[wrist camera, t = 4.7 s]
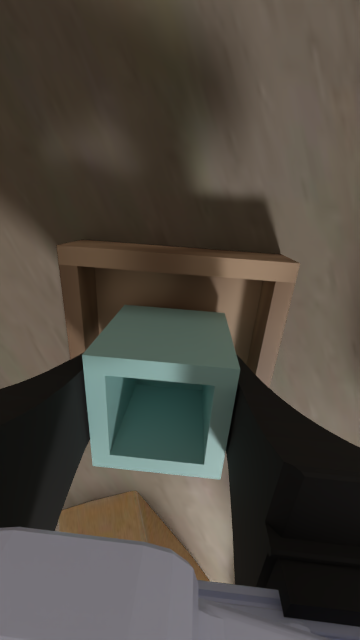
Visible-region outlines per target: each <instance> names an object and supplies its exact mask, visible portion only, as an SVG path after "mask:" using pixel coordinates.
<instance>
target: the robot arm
mask: <svg viewBox="0 0 360 640" xmlns="http://www.w3.org/2000/svg"><path fill="white" fill-rule="evenodd" d="M83 353H84V352H83ZM83 353H82V354H83ZM82 354H80V355H78V356H76V357H74V358H73V359H71V360H69V361H67V362H65V363H63V364H61V365H59V366H57V367H55V368H53V369H51V370H49V371H47V372H45V373H42V374H40V375H38V376H36V377H33V378H31V379H28V380H26V381H23V382H20V383H18V384H15V385H12V386H8V387H5V388H2V389H0V640H360V448H359V447H357V446H355V445H353V444H351V443H349V442H347V441H346V440H344V439H342V438H340V437H338V436H337V435H335V434H333V433H331V432H329V431H328V430H326V429H324V428H323V427H321V426H319V425H318V424H316V423H315V422H313V421H312V420H310V419H308V418H307V417H305V416H304V415H302V414H301V413H300V412H298V411H297V410H295V409H294V408H293V407H291V406H290V405H289V404H287V403H286V402H285V401H284V400H282V399H281V398H280V397H279V396H277V395H276V394H275V393H274V392H273V391H272V390H271V389H270V388H268V387H267V386H266V385H265V384H264V383H263V382H262V381H261V380H260V379H259V378H258V377H257V376H256V375H255V374H254V373H253V372H252V370H251V369H250V368H249V367H248V366H247V365H246V364H245V363H244V362H243V360H242V359H241V358H240V357H239V356H238V355H237V359H238V363H239V366H240V374H239V380H238V385H237V391H236V396H235V402H234V407H233V413H232V418H231V424H230V429H229V435H228V440H227V446H226V454H227V461H228V469H229V482H230V496H231V512H232V529H233V548H234V571H235V585H234V584H226V583H218V582H210V581H202V580H197V578H196V575H195V572H194V569H193V567H192V566H191V565H190V563H189V562H188V561H186V560H185V559H184V558H182V557H181V556H179V555H178V554H177V553H175V552H174V551H173V550H171V549H169V548H165V547H162V546H158V545H154V544H151V543H147V542H142V541H134V540H125V539H117V538H108V537H100V536H92V535H83V534H75V533H66V532H58V531H55V528H56V525H57V522H58V520H59V517H60V514H61V511H62V508H63V505H64V502H65V500H66V497H67V494H68V492H69V489H70V486H71V484H72V481H73V478H74V475H75V473H76V470H77V468H78V465H79V463H80V460H81V458H82V455H83V453H84V450H85V448H86V446H87V444H88V442H89V440H90V432H89V422H88V411H87V401H86V391H85V381H84V370H83V360H82Z"/></svg>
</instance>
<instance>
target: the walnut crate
mask: <svg viewBox="0 0 360 640" xmlns="http://www.w3.org/2000/svg"><path fill="white" fill-rule="evenodd" d="M56 246H57V254H58V262H59V270H60V278H61V286H62V294H63V302H64V310H65V319H66V327H67V335H68V343H69V351H70V359H73V358H74V357H76V356H78V355H80V354H82V353H83V352H85V351H86V350H87V348H88V347H89V346H90V345H91V344H92V343H93V341H94V340H95V339H96V338H97V337H98V335H99V334H100V333H101V332H102V331H103V330H104V328H105V327H106V326H107V325H108V324H109V323H110V321H111V320H112V319H113V318H114V317H115V315H116V314H117V313H118V312H119V311H120V310H121V308H122V307H123V306H124V305H134V306H146V307H159V308H171V309H183V310H195V311H207V312H219V313H225V316H226V319H227V323H228V327H229V330H230V334H231V337H232V341H233V345H234V348H235V352H236V355H238V356H239V357H240V358H241V359H242V360H243V362H244V363H245V364H246V365H247V366H248V367H249V368H250V369H251V370H252V372H253V373H254V374H255V375H256V376H257V377H258V378H259V379H260V380H261V381H262V382H263V383H264V384H265V385H266V386H267V387H268V388H270V384H271V379H272V375H273V371H274V367H275V363H276V359H277V355H278V351H279V347H280V343H281V339H282V335H283V331H284V327H285V323H286V319H287V315H288V311H289V307H290V303H291V299H292V295H293V291H294V286H295V282H296V278H297V274H298V270H299V266H300V263H298V262H296V261H294V260H292V259H290V258H288V257H286V256H283V255H281V254H268V253H255V252H241V251H228V250H214V249H200V248H187V247H173V246H160V245H146V244H133V243H119V242H105V241H92V240H79V241H74V242H69V243H65V244H60V245H56Z"/></svg>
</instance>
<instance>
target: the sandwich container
mask: <svg viewBox="0 0 360 640" xmlns="http://www.w3.org/2000/svg"><path fill="white" fill-rule="evenodd" d="M58 523H59V532H66V533H75V534H83V535H92V536H100V537H108V538H117V539H125V540H134V541H142V542H147V543H151V544H154V545H158V546H162V547H165V548H169V549H171V550H173V551H174V552H175V553H177V554H178V555H179V556H181V557H182V558H184V559H185V560H186V561H188V562H189V563H190V565H191V566H192V567H193V569H194V572H195V575H196V578H197V580H202V581H209V580H208V578H207V577H206V576H205V574H204V573H203V571H202V570H201V569H200V567H199V566H198V565H197V563H196V562H195V561H194V559H193V558H192V557H191V555H190V554H189V553H188V551H187V550H186V549H185V548H184V547H183V545H182V544H181V543H180V542H179V541H178V540H177V538H176V537H175V536H174V535H173V534H172V532H171V531H170V530H169V529H168V528H167V526H166V525H165V524H164V523H163V522H162V521H161V519H160V518H159V517H158V516H157V515H156V513H155V512H154V511H153V510H152V509H151V508H150V506H149V505H148V504H147V503H146V502H145V500H144V499H143V498H142V497H141V496H140V495H139V493H138V492H137V491H131V492H126V493H122V494H118V495H114V496H110V497H106V498H102V499H98V500H94V501H90V502H87V503H84V504H81V505H78V506H75V507H71V508H68V509H65V510H62V511H61V514H60V517H59V520H58Z"/></svg>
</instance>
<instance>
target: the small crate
mask: <svg viewBox="0 0 360 640" xmlns="http://www.w3.org/2000/svg"><path fill="white" fill-rule="evenodd" d="M82 360H83V370H84V381H85V391H86V401H87V411H88V422H89V432H90V442H91V452H92V463H93V466H100V467H109V468H118V469H127V470H137V471H146V472H155V473H164V474H174V475H183V476H192V477H202V478H211V479H221V473H222V468H223V462H224V457H225V451H226V446H227V440H228V435H229V429H230V424H231V418H232V413H233V407H234V402H235V396H236V391H237V385H238V380H239V374H240V366H239V363H238V359H237V355H236V352H235V348H234V345H233V341H232V337H231V334H230V330H229V327H228V323H227V319H226V316H225V313H219V312H207V311H195V310H183V309H171V308H159V307H146V306H134V305H124V306H123V307H122V308H121V310H120V311H119V312H118V313H117V314H116V315H115V317H114V318H113V319H112V320H111V321H110V323H109V324H108V325H107V326H106V327H105V328H104V330H103V331H102V332H101V333H100V334H99V335H98V337H97V338H96V339H95V340H94V341H93V343H92V344H91V345H90V346H89V347H88V348H87V350H86V351H85V352H84V353H83V354H82Z"/></svg>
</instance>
